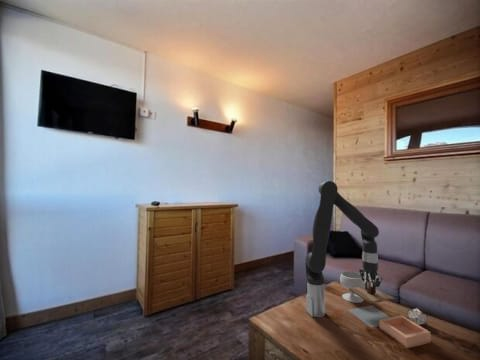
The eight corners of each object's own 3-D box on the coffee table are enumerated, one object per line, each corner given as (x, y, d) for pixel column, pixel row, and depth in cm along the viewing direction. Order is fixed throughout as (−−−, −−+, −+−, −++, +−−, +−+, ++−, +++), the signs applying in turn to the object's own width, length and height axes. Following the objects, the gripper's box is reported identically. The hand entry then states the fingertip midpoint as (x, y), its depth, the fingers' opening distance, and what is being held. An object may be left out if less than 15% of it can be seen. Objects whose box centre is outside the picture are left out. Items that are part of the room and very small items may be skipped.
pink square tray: (406, 348, 98) (406, 337, 98) (379, 328, 112) (379, 319, 112) (431, 342, 102) (430, 332, 102) (401, 324, 115) (401, 315, 115)
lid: (370, 303, 114) (369, 289, 114) (349, 290, 128) (348, 277, 129) (393, 299, 118) (393, 286, 118) (370, 287, 132) (370, 275, 132)
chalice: (346, 291, 152) (345, 269, 152) (368, 299, 141) (368, 275, 142) (336, 298, 143) (335, 274, 143) (359, 306, 132) (358, 281, 133)
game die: (422, 334, 113) (435, 324, 107) (404, 326, 115) (416, 316, 109) (417, 316, 120) (429, 307, 115) (400, 309, 122) (411, 300, 116)
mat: (371, 328, 112) (371, 327, 112) (347, 310, 129) (347, 309, 129) (398, 322, 117) (398, 322, 117) (371, 306, 133) (371, 305, 133)
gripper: (354, 256, 130) (355, 286, 129) (374, 264, 116) (375, 298, 115) (365, 255, 131) (366, 285, 131) (386, 263, 118) (387, 297, 117)
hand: (370, 291), depth 123 cm, fingers closed on lid, 3 cm apart
